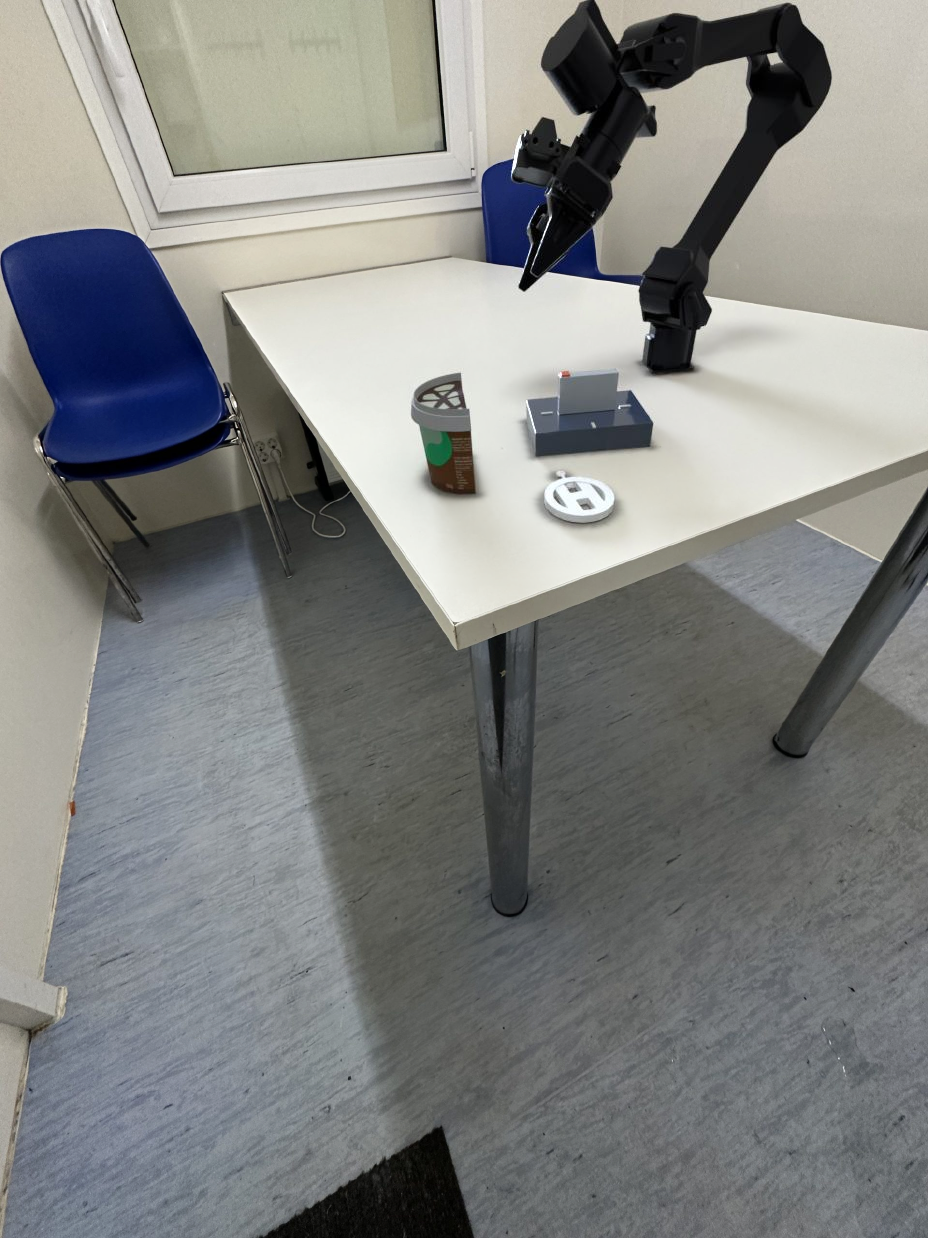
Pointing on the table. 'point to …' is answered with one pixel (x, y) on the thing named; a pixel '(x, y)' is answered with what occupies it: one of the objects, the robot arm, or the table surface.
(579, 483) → the pendant
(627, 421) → the tap base
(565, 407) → the gray bar
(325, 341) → the table surface
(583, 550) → the table surface
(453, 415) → the food container
